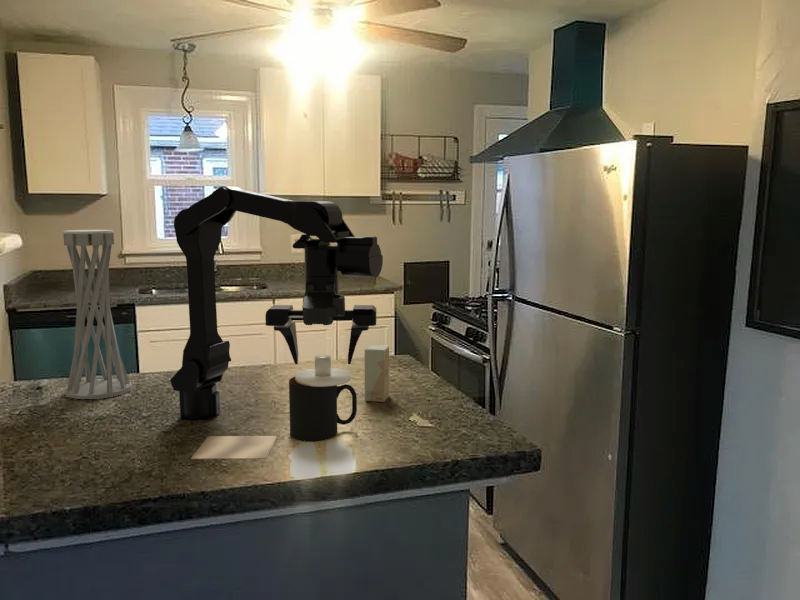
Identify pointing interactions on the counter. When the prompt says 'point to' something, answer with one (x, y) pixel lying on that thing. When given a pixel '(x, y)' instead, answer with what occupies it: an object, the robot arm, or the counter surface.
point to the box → (376, 373)
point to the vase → (107, 384)
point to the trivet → (235, 447)
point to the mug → (316, 411)
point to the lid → (322, 374)
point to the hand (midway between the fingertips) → (323, 363)
